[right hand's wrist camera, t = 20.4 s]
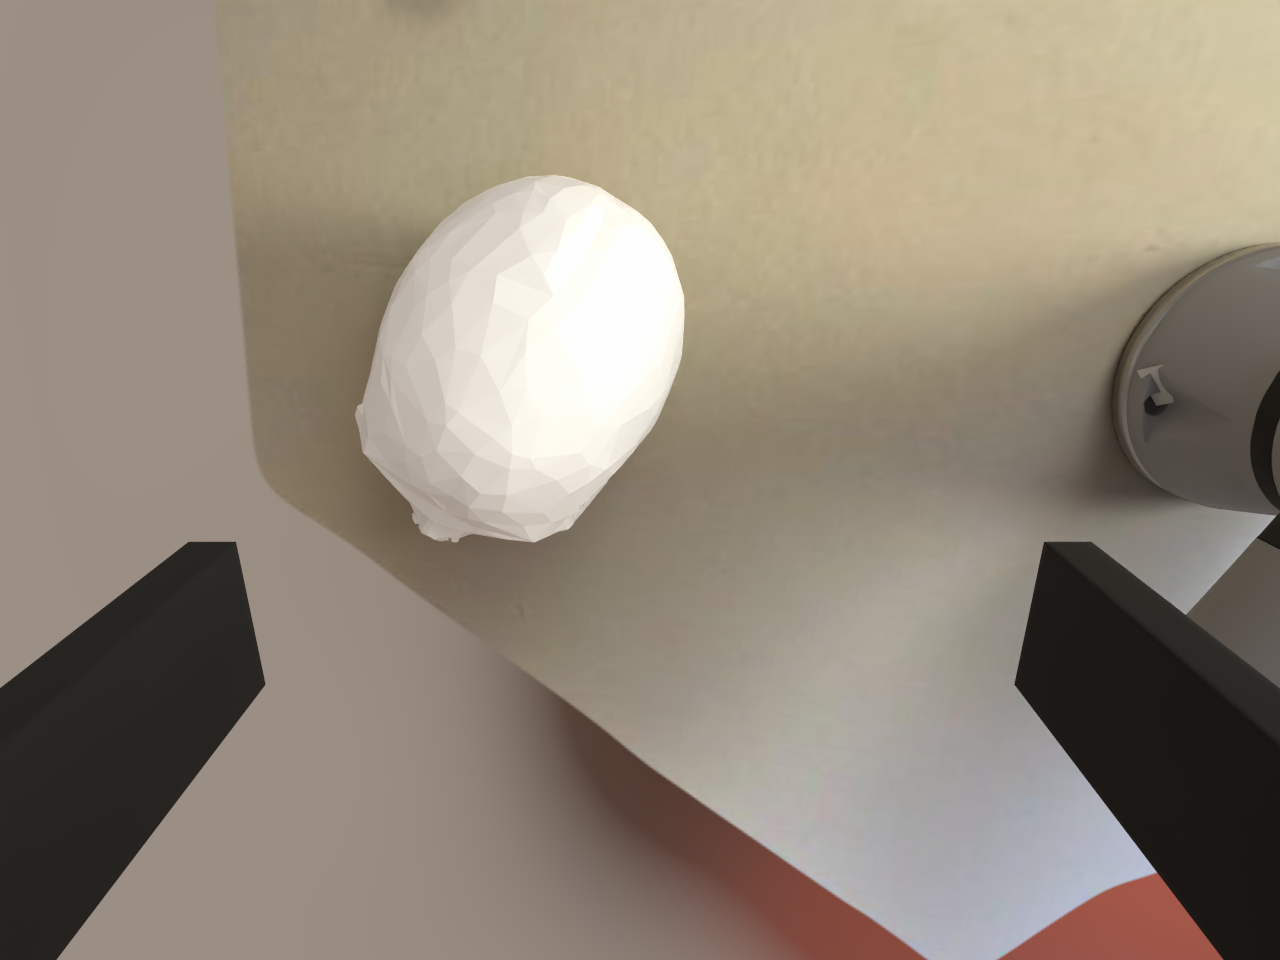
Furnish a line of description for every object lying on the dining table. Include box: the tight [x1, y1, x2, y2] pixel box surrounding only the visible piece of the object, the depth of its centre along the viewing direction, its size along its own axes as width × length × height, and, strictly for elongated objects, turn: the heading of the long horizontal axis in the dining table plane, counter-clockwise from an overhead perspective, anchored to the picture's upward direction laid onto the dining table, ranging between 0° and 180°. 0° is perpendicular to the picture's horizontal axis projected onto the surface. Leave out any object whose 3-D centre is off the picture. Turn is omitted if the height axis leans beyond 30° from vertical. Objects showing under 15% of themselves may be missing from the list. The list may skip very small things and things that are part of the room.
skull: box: [355, 175, 684, 543], centre depth 37 cm, size 13×22×16 cm, turn 153°
